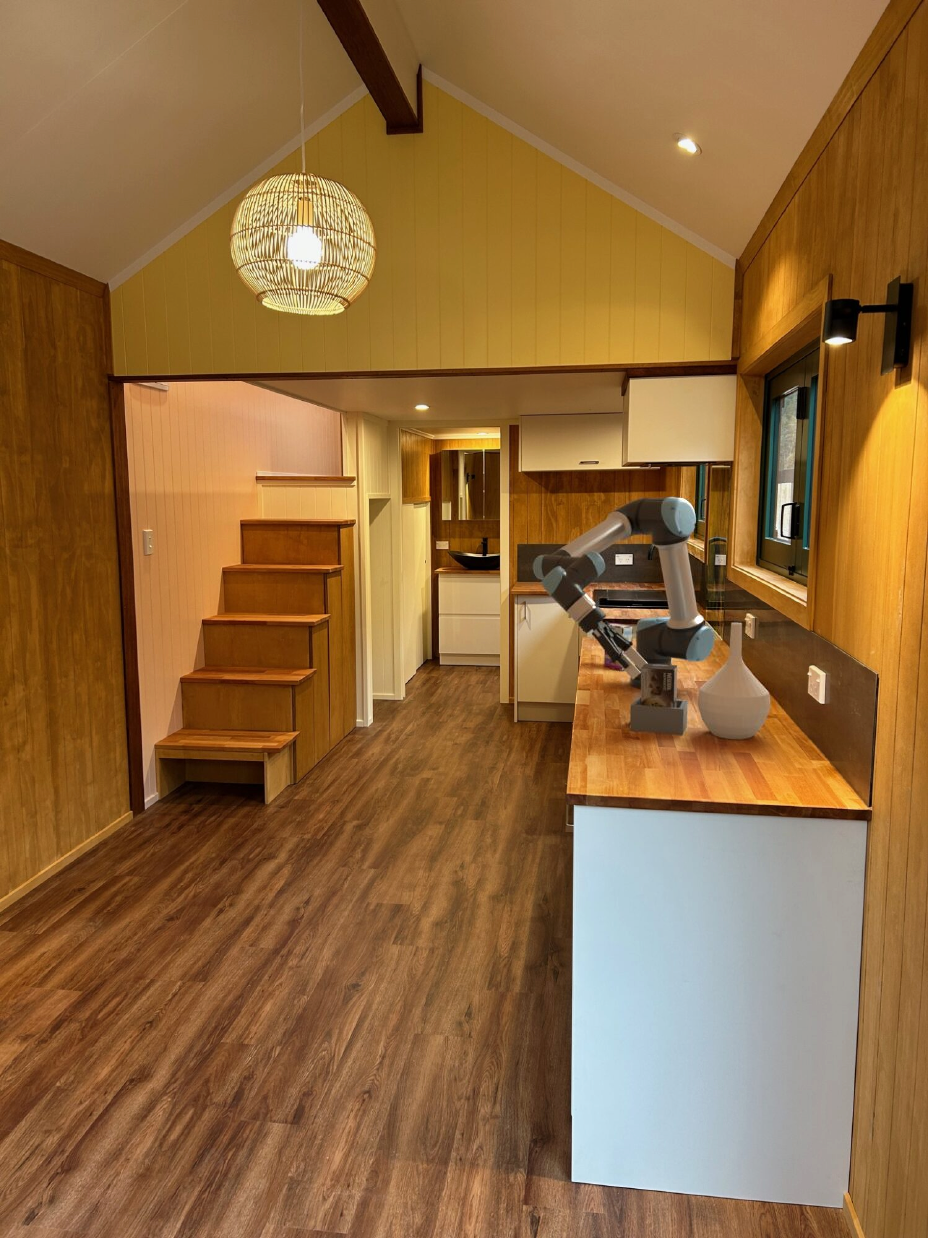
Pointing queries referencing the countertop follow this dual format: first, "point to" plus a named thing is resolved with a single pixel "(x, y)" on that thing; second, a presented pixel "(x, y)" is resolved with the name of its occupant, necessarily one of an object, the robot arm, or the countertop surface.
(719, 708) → the vase
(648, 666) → the coffee box
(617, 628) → the candy bar box
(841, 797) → the countertop surface
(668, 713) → the rectangular open box
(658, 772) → the countertop surface
